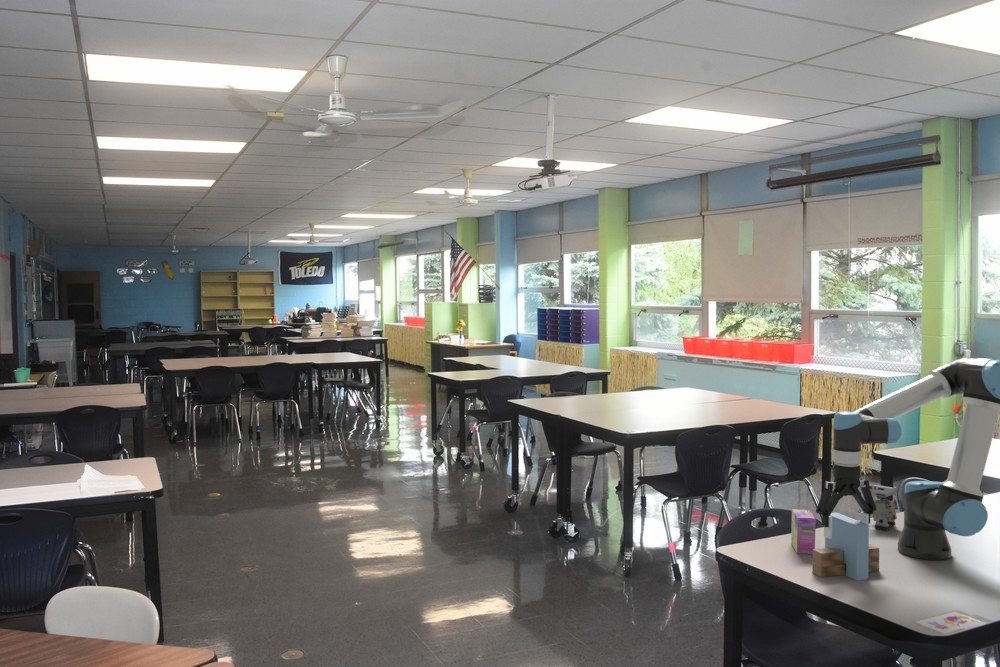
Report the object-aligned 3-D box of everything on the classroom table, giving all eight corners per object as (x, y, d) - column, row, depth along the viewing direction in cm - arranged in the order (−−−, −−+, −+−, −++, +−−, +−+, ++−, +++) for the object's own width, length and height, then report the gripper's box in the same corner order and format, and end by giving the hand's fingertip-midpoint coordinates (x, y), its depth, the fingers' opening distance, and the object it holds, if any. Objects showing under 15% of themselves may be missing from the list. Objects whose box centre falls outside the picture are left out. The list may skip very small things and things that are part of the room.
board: (824, 564, 235) (825, 513, 234) (836, 563, 236) (836, 512, 235) (856, 580, 221) (857, 525, 220) (868, 579, 222) (868, 524, 221)
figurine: (866, 520, 283) (866, 480, 283) (900, 527, 275) (900, 485, 275) (857, 526, 276) (858, 484, 276) (891, 532, 269) (892, 490, 268)
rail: (869, 566, 233) (869, 544, 232) (879, 571, 229) (879, 548, 228) (812, 572, 228) (812, 549, 228) (821, 577, 224) (821, 553, 224)
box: (815, 554, 245) (815, 518, 244) (796, 553, 246) (796, 517, 245) (809, 544, 255) (809, 509, 254) (791, 543, 256) (791, 508, 256)
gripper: (872, 459, 234) (871, 529, 234) (803, 463, 228) (802, 535, 229) (890, 464, 226) (889, 536, 227) (819, 468, 221) (819, 542, 221)
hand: (846, 536), depth 228 cm, fingers open, 12 cm apart
